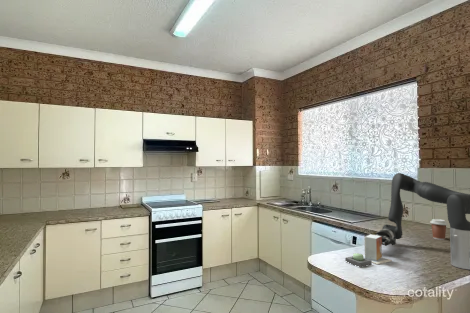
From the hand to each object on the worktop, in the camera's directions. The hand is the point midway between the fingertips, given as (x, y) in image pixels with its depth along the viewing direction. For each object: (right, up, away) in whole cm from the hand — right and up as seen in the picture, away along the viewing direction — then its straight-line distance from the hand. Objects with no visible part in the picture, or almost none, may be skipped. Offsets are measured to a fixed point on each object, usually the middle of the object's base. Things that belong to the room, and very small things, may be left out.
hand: (376, 242), depth 139 cm
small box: (-3, -7, -4) cm, 8 cm away
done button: (-14, -5, -10) cm, 18 cm away
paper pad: (-3, -7, -4) cm, 9 cm away
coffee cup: (+61, -10, +38) cm, 72 cm away
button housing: (-14, -7, -10) cm, 18 cm away
